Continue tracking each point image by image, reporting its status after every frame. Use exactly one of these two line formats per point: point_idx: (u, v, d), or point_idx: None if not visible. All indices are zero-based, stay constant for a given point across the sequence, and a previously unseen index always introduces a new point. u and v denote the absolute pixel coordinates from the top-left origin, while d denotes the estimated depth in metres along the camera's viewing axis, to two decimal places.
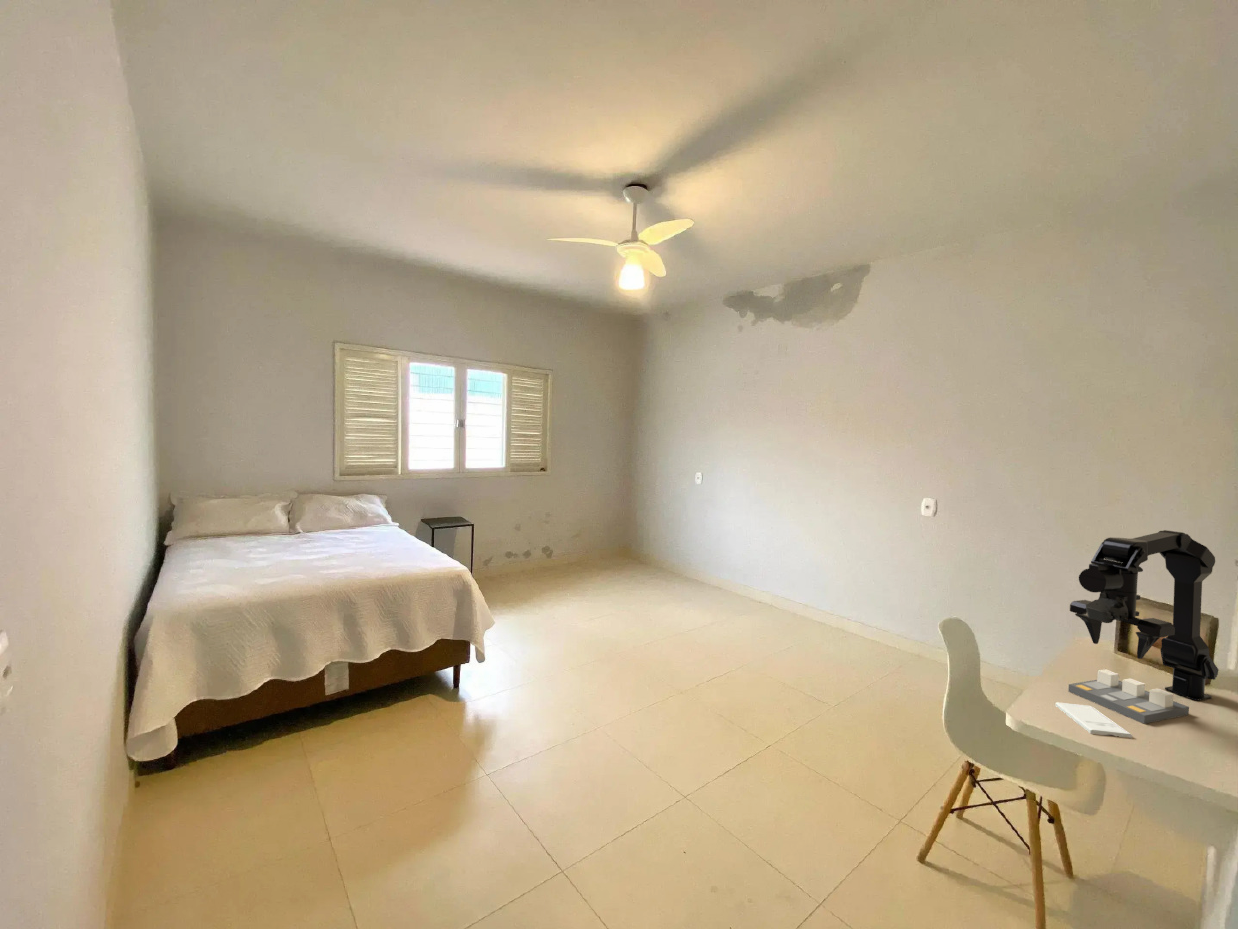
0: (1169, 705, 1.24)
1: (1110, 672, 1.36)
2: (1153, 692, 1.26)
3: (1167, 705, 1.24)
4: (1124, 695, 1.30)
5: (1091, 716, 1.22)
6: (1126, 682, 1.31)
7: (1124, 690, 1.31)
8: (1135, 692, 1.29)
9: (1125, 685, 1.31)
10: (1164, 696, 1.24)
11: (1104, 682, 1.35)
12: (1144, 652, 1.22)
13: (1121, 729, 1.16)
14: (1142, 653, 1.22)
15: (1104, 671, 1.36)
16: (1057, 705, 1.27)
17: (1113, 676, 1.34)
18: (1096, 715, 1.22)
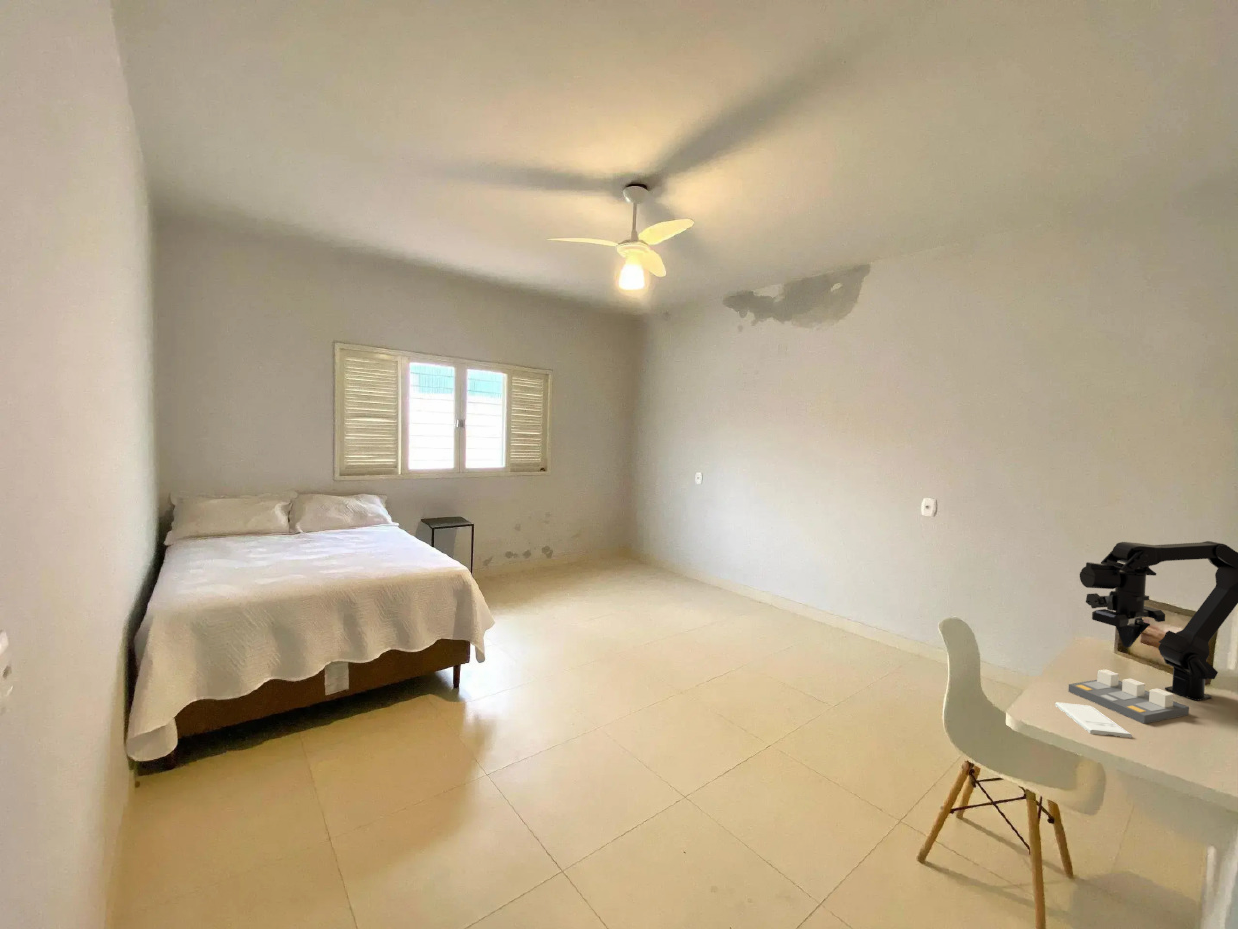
0: (1169, 705, 1.24)
1: (1110, 672, 1.36)
2: (1153, 692, 1.26)
3: (1167, 705, 1.24)
4: (1124, 695, 1.30)
5: (1091, 716, 1.22)
6: (1126, 682, 1.31)
7: (1124, 690, 1.31)
8: (1135, 692, 1.29)
9: (1125, 685, 1.31)
10: (1164, 696, 1.24)
11: (1104, 682, 1.35)
12: (1125, 640, 1.37)
13: (1121, 729, 1.16)
14: (1123, 641, 1.37)
15: (1104, 671, 1.36)
16: (1057, 705, 1.27)
17: (1113, 676, 1.34)
18: (1096, 715, 1.22)
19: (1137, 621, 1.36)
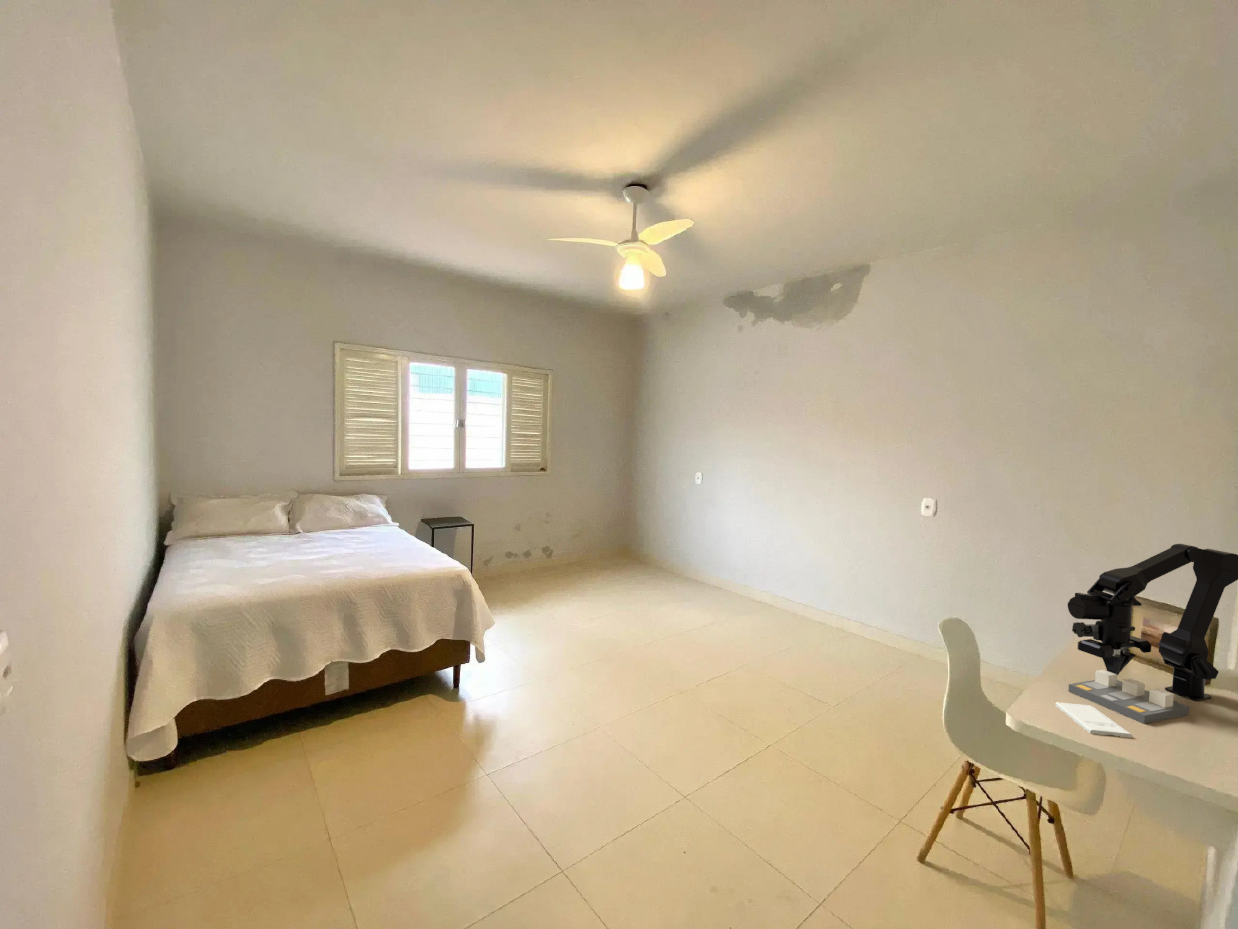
0: (1169, 705, 1.24)
1: (1108, 672, 1.35)
2: (1153, 692, 1.26)
3: (1167, 705, 1.24)
4: (1124, 695, 1.30)
5: (1091, 716, 1.22)
6: (1126, 682, 1.31)
7: (1124, 690, 1.31)
8: (1135, 692, 1.29)
9: (1125, 685, 1.31)
10: (1164, 696, 1.24)
11: (1102, 682, 1.35)
12: (1111, 671, 1.36)
13: (1121, 729, 1.16)
14: (1109, 671, 1.37)
15: (1102, 671, 1.36)
16: (1057, 705, 1.27)
17: (1110, 676, 1.34)
18: (1096, 715, 1.22)
19: (1123, 652, 1.35)
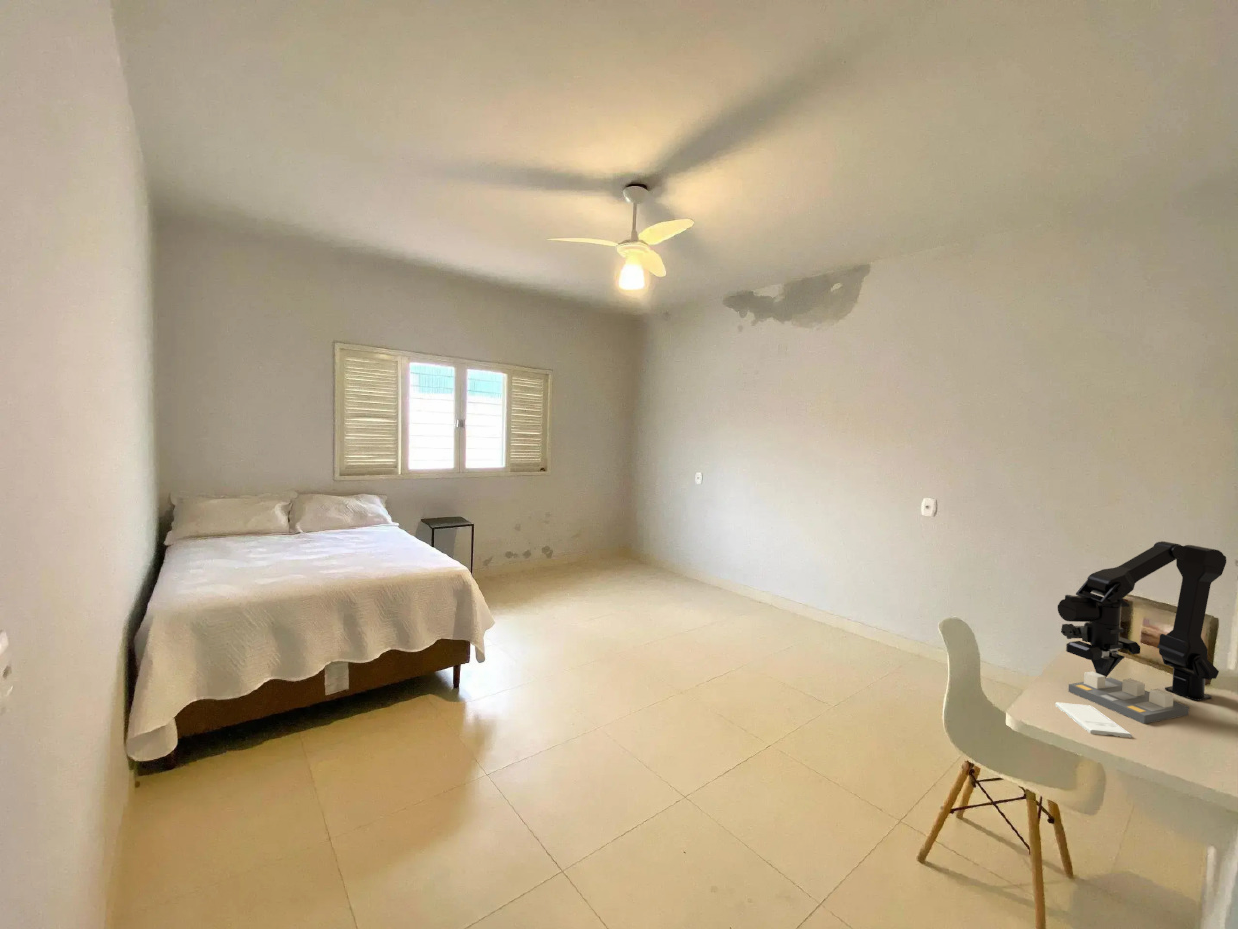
0: (1169, 705, 1.24)
1: (1097, 674, 1.34)
2: (1153, 692, 1.26)
3: (1167, 705, 1.24)
4: (1124, 695, 1.30)
5: (1091, 716, 1.22)
6: (1126, 682, 1.31)
7: (1124, 690, 1.31)
8: (1135, 692, 1.29)
9: (1125, 685, 1.31)
10: (1164, 696, 1.24)
11: (1091, 684, 1.34)
12: (1100, 673, 1.35)
13: (1121, 729, 1.16)
14: (1098, 673, 1.35)
15: (1091, 673, 1.35)
16: (1057, 705, 1.27)
17: (1099, 678, 1.33)
18: (1096, 715, 1.22)
19: (1112, 653, 1.34)
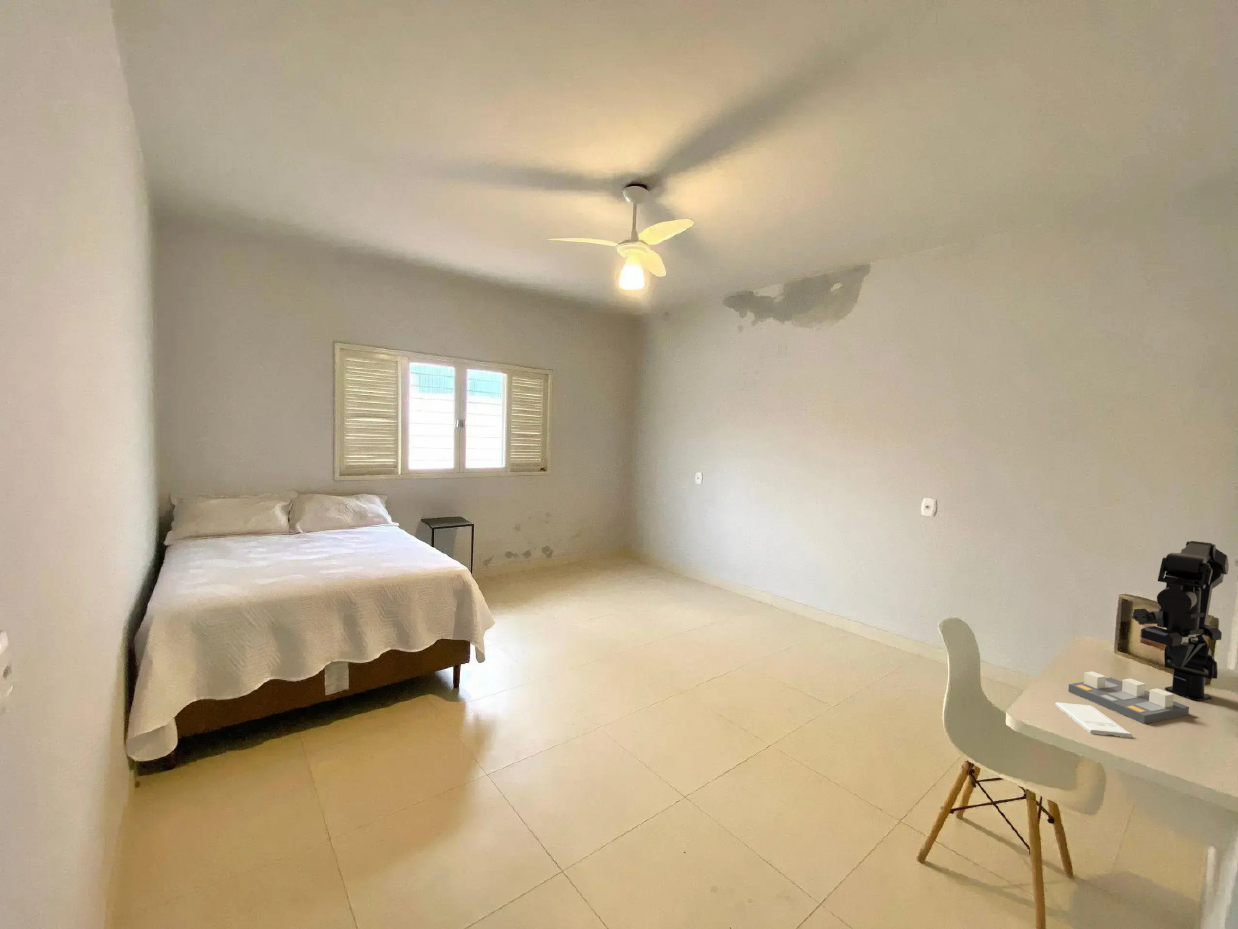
0: (1169, 705, 1.24)
1: (1097, 674, 1.34)
2: (1153, 692, 1.26)
3: (1167, 705, 1.24)
4: (1124, 695, 1.30)
5: (1091, 716, 1.22)
6: (1126, 682, 1.31)
7: (1124, 690, 1.31)
8: (1135, 692, 1.29)
9: (1125, 685, 1.31)
10: (1164, 696, 1.24)
11: (1091, 684, 1.34)
12: (1177, 660, 1.27)
13: (1121, 729, 1.16)
14: (1175, 660, 1.27)
15: (1091, 673, 1.35)
16: (1057, 705, 1.27)
17: (1099, 678, 1.33)
18: (1096, 715, 1.22)
19: (1191, 639, 1.26)
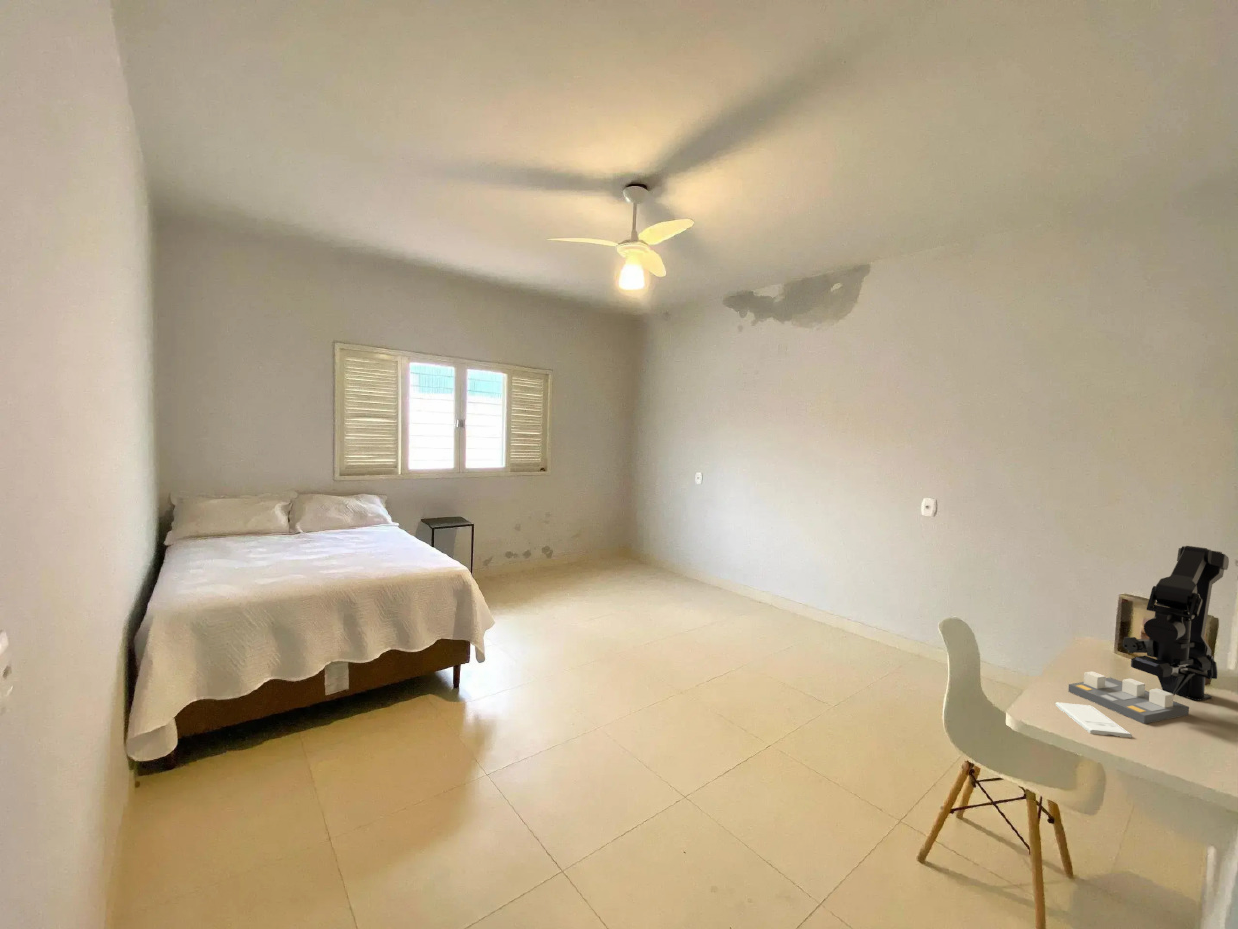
0: (1169, 705, 1.24)
1: (1097, 674, 1.34)
2: (1153, 692, 1.26)
3: (1167, 705, 1.24)
4: (1124, 695, 1.30)
5: (1091, 716, 1.22)
6: (1126, 682, 1.31)
7: (1124, 690, 1.31)
8: (1135, 692, 1.29)
9: (1125, 685, 1.31)
10: (1164, 696, 1.24)
11: (1091, 684, 1.34)
12: (1167, 690, 1.25)
13: (1121, 729, 1.16)
14: (1164, 690, 1.26)
15: (1091, 673, 1.35)
16: (1057, 705, 1.27)
17: (1099, 678, 1.33)
18: (1096, 715, 1.22)
19: (1180, 669, 1.25)
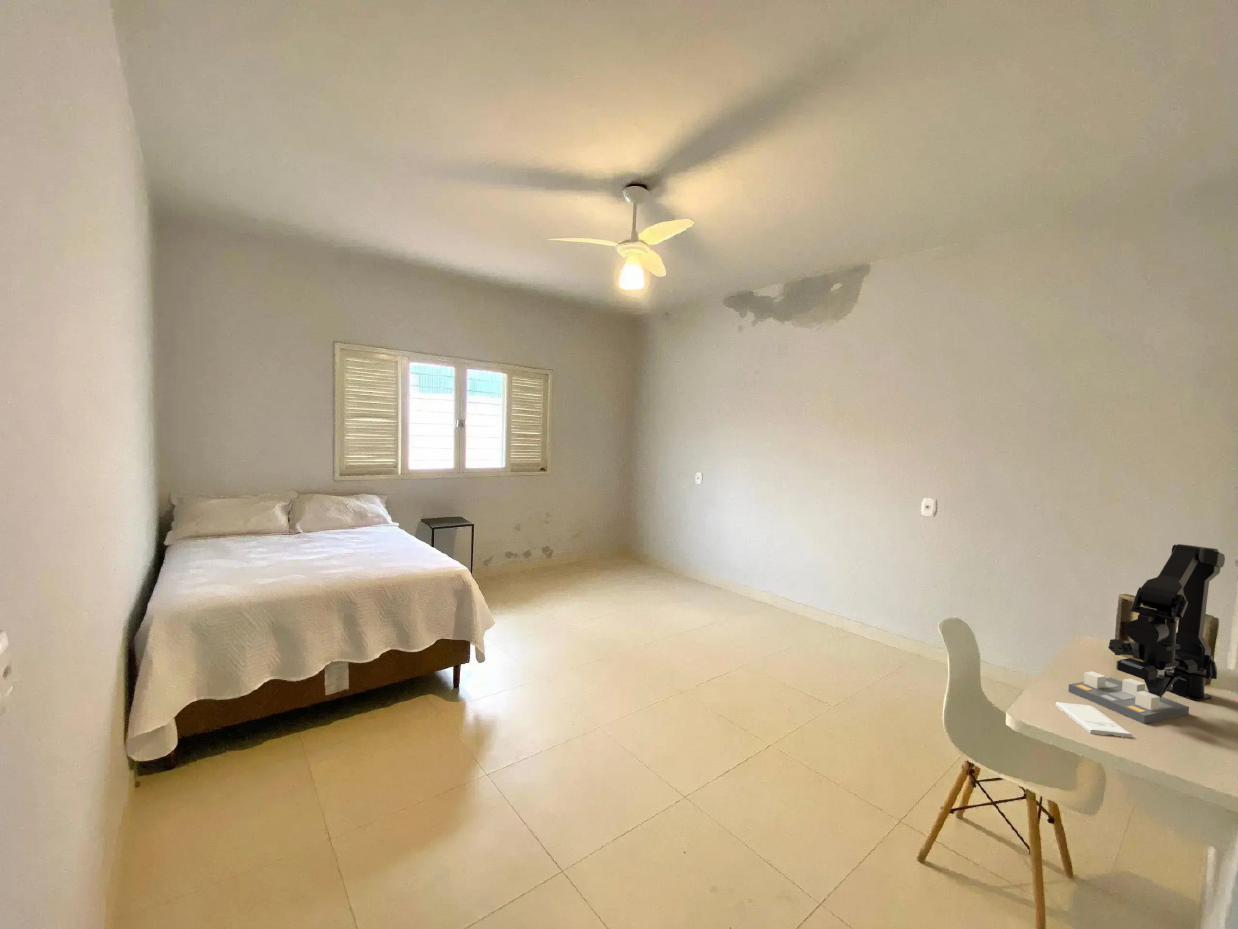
0: (1155, 708, 1.23)
1: (1097, 674, 1.34)
2: (1139, 694, 1.24)
3: (1153, 708, 1.23)
4: (1124, 695, 1.30)
5: (1091, 716, 1.22)
6: (1126, 682, 1.31)
7: (1124, 690, 1.31)
8: (1135, 692, 1.29)
9: (1125, 685, 1.31)
10: (1150, 699, 1.22)
11: (1091, 684, 1.34)
12: (1153, 693, 1.24)
13: (1121, 729, 1.16)
14: (1151, 693, 1.25)
15: (1091, 673, 1.35)
16: (1057, 705, 1.27)
17: (1099, 678, 1.33)
18: (1096, 715, 1.22)
19: (1167, 672, 1.23)
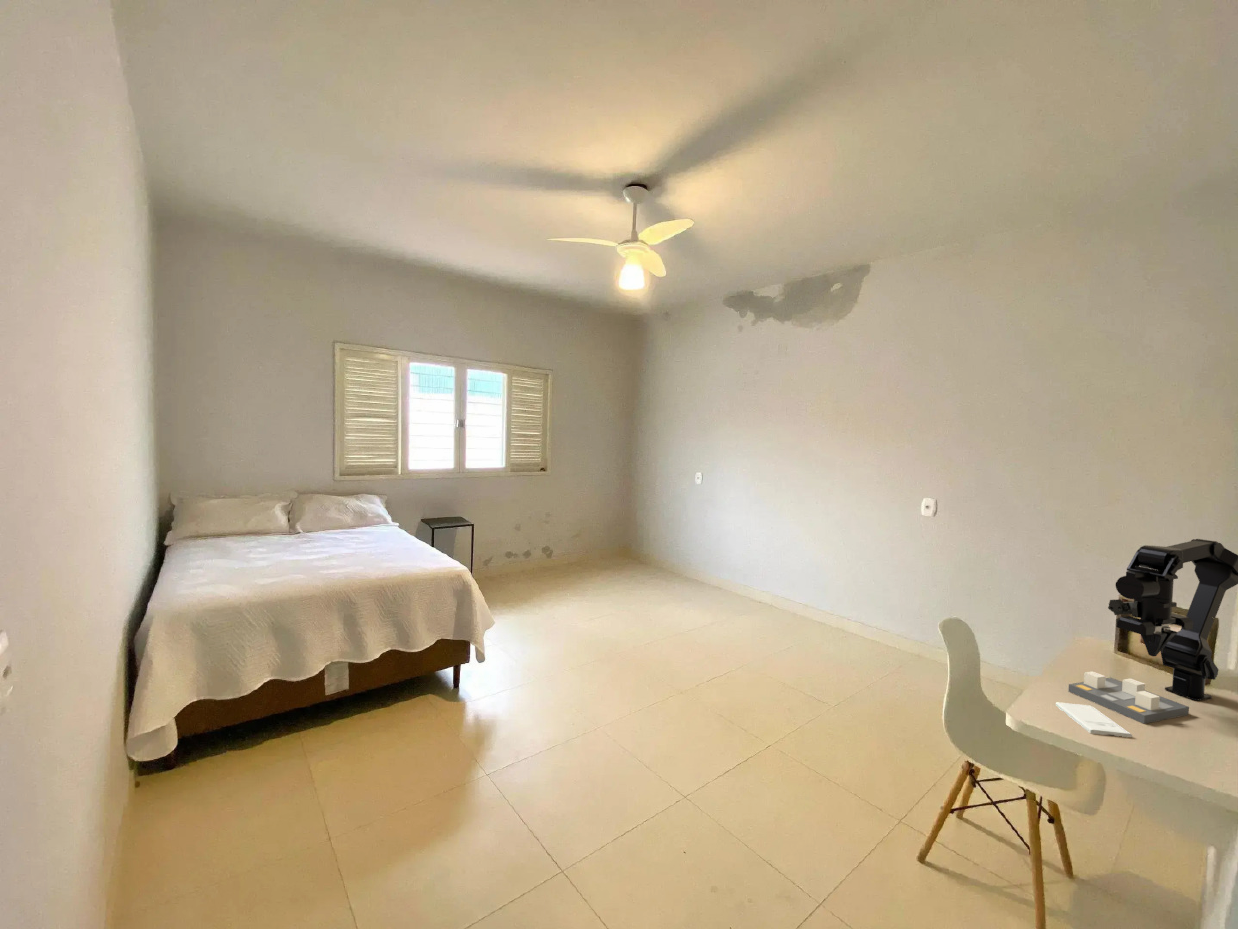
0: (1155, 708, 1.23)
1: (1097, 674, 1.34)
2: (1139, 694, 1.24)
3: (1153, 708, 1.23)
4: (1124, 695, 1.30)
5: (1091, 716, 1.22)
6: (1126, 682, 1.31)
7: (1124, 690, 1.31)
8: (1135, 692, 1.29)
9: (1125, 685, 1.31)
10: (1150, 699, 1.22)
11: (1091, 684, 1.34)
12: (1151, 649, 1.30)
13: (1121, 729, 1.16)
14: (1148, 649, 1.30)
15: (1091, 673, 1.35)
16: (1057, 705, 1.27)
17: (1099, 678, 1.33)
18: (1096, 715, 1.22)
19: (1163, 629, 1.29)
